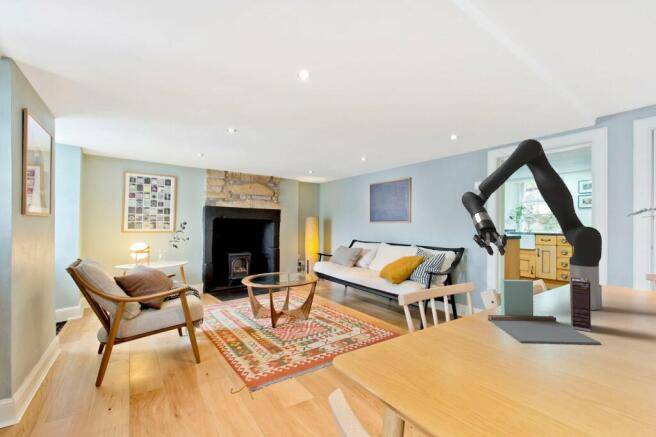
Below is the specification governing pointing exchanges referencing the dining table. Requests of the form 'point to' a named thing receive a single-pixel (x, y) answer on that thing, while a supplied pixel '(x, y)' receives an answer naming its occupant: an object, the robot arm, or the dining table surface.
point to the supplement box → (581, 304)
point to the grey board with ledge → (539, 330)
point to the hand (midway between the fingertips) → (497, 254)
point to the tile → (516, 297)
